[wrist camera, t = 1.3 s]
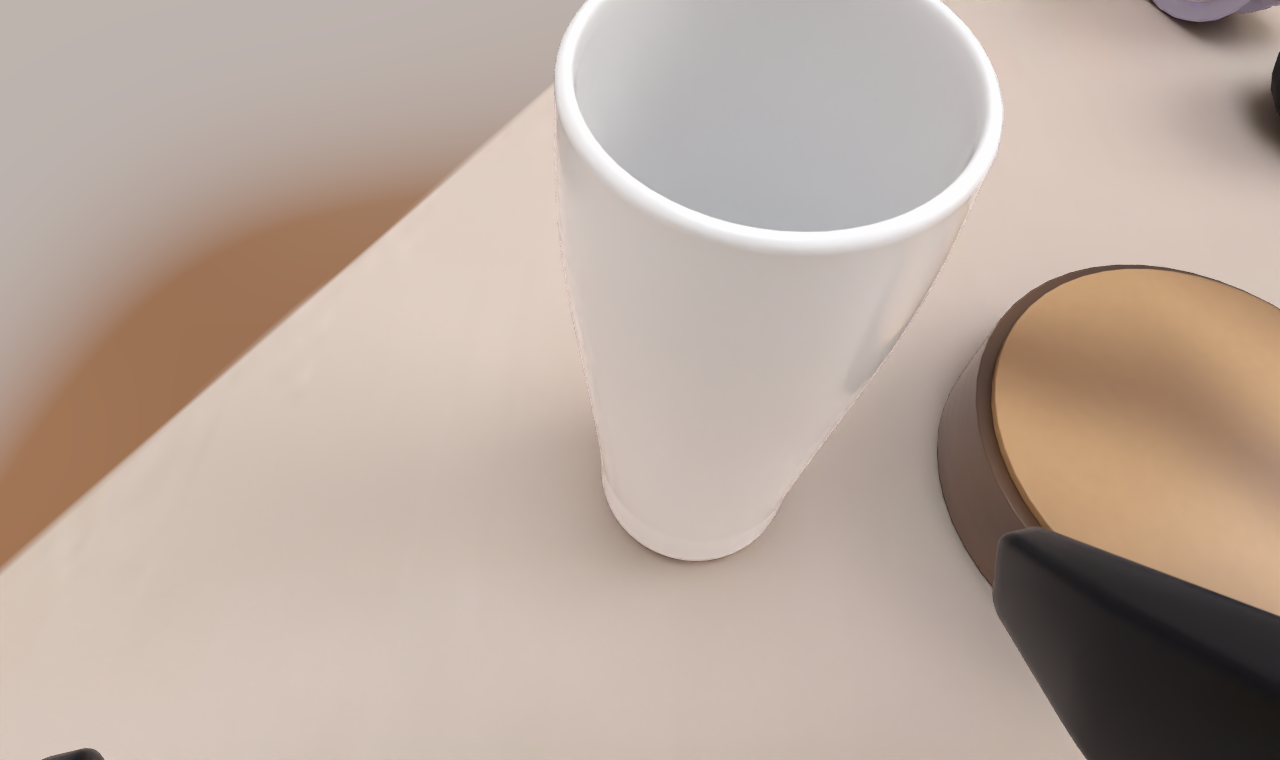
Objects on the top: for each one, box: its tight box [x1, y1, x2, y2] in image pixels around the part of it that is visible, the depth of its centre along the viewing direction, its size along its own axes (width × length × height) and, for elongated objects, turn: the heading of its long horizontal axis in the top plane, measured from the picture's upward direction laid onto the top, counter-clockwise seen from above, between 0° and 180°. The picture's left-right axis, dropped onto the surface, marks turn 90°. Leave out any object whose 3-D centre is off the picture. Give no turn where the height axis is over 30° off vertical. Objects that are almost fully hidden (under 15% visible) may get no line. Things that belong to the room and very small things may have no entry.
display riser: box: [937, 265, 1280, 616], centre depth 24 cm, size 12×12×4 cm
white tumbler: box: [554, 0, 1003, 561], centre depth 19 cm, size 7×7×15 cm
